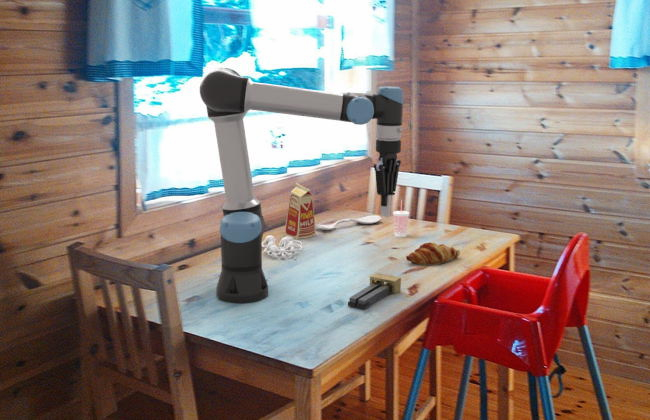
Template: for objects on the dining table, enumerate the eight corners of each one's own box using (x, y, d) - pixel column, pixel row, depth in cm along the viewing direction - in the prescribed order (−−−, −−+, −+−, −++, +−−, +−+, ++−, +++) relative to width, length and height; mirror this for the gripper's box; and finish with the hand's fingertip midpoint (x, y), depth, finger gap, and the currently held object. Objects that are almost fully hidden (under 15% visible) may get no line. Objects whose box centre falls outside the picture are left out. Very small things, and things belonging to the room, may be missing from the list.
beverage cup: (411, 234, 282) (412, 199, 279) (404, 238, 277) (405, 201, 274) (396, 232, 285) (397, 197, 282) (389, 236, 280) (390, 200, 277)
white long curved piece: (308, 230, 289) (308, 221, 288) (371, 219, 307) (371, 211, 306) (321, 235, 282) (321, 226, 281) (385, 223, 300) (385, 215, 299)
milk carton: (284, 235, 281) (283, 183, 276) (302, 231, 287) (302, 180, 282) (299, 239, 274) (299, 187, 270) (318, 235, 280) (318, 184, 276)
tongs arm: (377, 287, 221) (377, 280, 220) (384, 288, 220) (384, 281, 219) (347, 305, 205) (347, 298, 205) (355, 307, 204) (355, 299, 203)
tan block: (376, 285, 223) (376, 273, 222) (400, 289, 218) (400, 277, 217) (369, 288, 219) (370, 276, 218) (394, 293, 215) (394, 281, 214)
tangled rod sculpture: (302, 263, 250) (303, 251, 249) (260, 260, 249) (260, 249, 248) (301, 246, 268) (302, 235, 267) (261, 243, 267) (262, 233, 266)
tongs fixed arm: (387, 284, 224) (387, 276, 224) (402, 287, 221) (402, 279, 221) (348, 306, 205) (348, 298, 205) (363, 310, 203) (364, 301, 202)
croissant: (453, 264, 256) (448, 242, 258) (470, 258, 247) (464, 235, 249) (402, 271, 247) (397, 248, 248) (417, 265, 238) (412, 241, 240)
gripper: (389, 142, 212) (385, 221, 217) (409, 138, 223) (406, 213, 228) (366, 140, 216) (364, 218, 221) (388, 136, 227) (385, 210, 232)
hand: (385, 215), depth 225 cm, fingers closed
